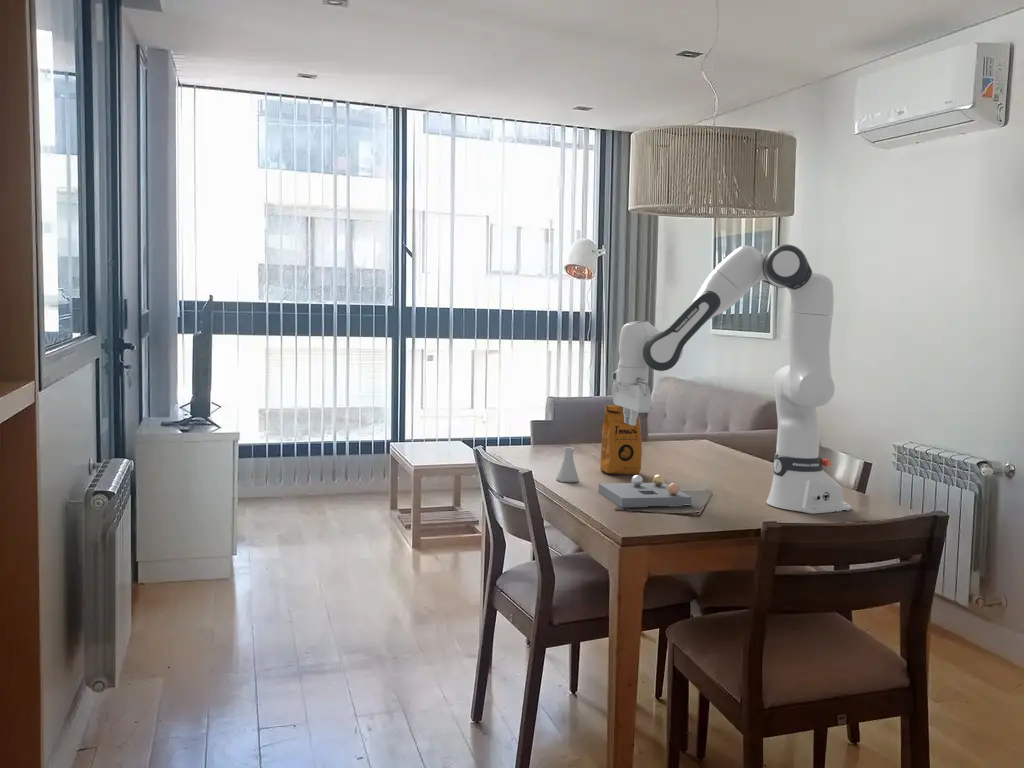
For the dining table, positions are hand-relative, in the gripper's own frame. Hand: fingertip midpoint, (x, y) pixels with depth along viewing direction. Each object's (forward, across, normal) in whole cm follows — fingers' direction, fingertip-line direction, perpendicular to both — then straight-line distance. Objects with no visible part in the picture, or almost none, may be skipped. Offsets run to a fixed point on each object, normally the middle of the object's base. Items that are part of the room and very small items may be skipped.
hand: (630, 424), depth 241 cm
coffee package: (+19, +23, -7) cm, 31 cm away
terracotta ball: (+15, -18, -6) cm, 24 cm away
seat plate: (+19, -12, 0) cm, 23 cm away
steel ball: (+15, -7, 0) cm, 17 cm away
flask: (+19, +12, +14) cm, 27 cm away
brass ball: (+15, -7, -6) cm, 18 cm away
